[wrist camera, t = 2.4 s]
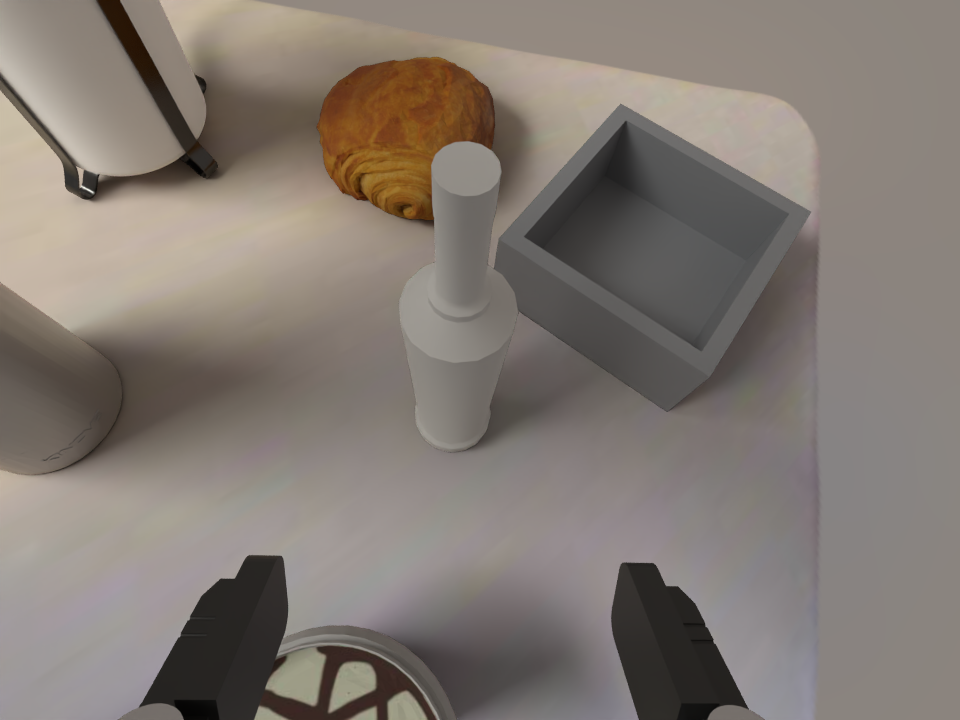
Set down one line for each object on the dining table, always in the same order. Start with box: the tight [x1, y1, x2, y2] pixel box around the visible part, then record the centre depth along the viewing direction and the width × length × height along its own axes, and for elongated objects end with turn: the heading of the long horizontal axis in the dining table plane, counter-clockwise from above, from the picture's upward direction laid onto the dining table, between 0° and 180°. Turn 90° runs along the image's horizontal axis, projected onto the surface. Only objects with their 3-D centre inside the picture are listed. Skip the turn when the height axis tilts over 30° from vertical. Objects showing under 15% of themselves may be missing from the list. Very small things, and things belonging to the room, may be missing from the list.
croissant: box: [317, 57, 495, 220], centre depth 46 cm, size 14×16×8 cm
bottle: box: [399, 141, 518, 452], centre depth 28 cm, size 5×5×25 cm
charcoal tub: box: [494, 104, 811, 412], centre depth 41 cm, size 16×16×7 cm
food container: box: [254, 626, 457, 720], centre depth 28 cm, size 12×6×10 cm, turn 94°
